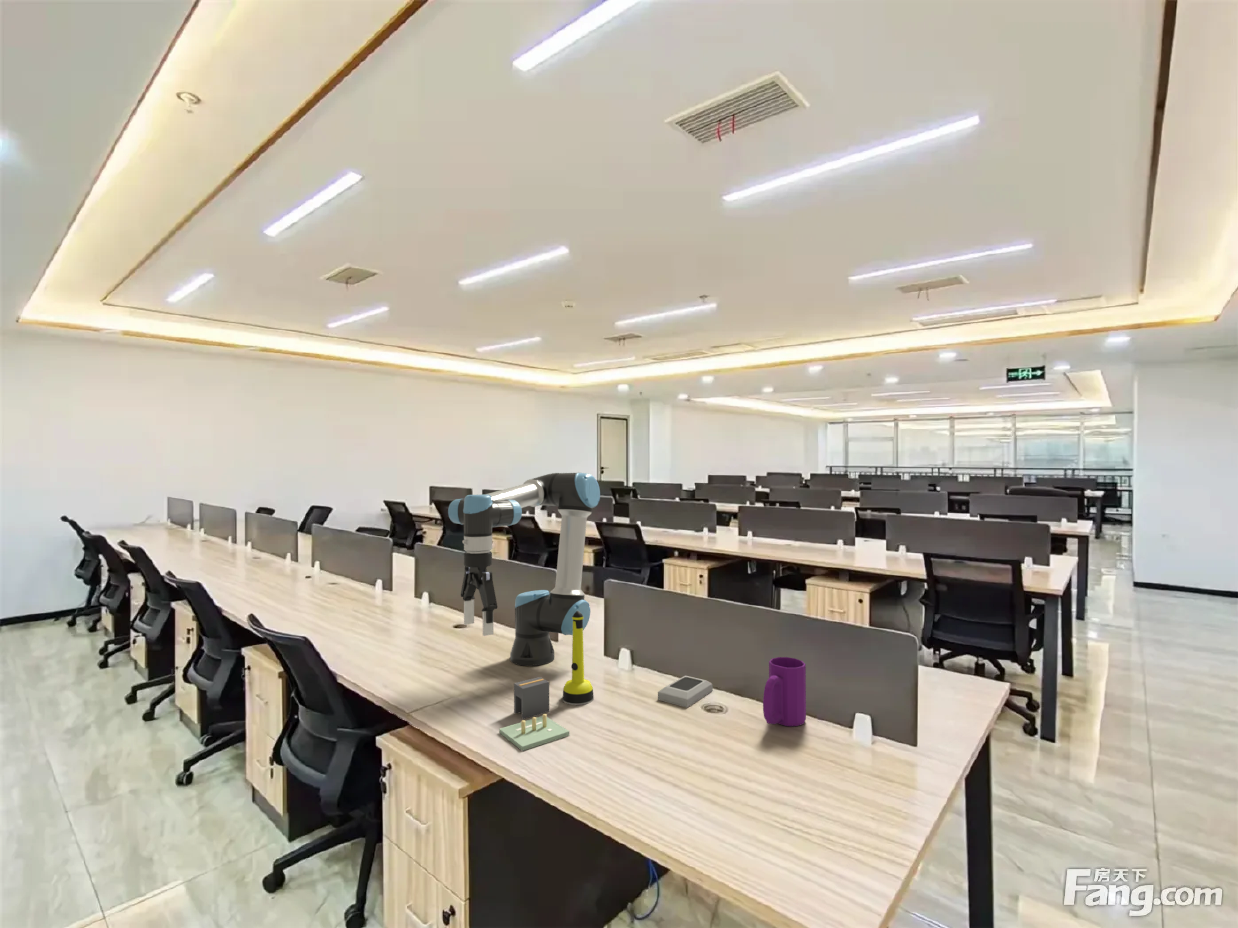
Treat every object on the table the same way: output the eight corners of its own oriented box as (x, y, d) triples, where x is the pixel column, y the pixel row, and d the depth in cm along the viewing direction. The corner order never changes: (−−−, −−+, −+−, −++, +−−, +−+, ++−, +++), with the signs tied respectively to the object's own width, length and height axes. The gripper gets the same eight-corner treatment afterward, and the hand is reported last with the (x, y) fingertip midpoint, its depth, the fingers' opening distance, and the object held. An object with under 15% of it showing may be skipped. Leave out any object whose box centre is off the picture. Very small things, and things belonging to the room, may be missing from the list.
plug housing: (540, 705, 164) (539, 676, 164) (549, 711, 160) (549, 681, 160) (514, 713, 160) (513, 682, 160) (522, 719, 156) (522, 688, 156)
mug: (812, 719, 154) (811, 662, 155) (782, 739, 143) (782, 677, 143) (780, 709, 161) (779, 654, 161) (749, 728, 150) (749, 668, 150)
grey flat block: (657, 688, 168) (684, 673, 180) (657, 701, 168) (684, 685, 180) (687, 695, 163) (712, 679, 175) (687, 709, 163) (712, 692, 175)
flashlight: (575, 606, 175) (555, 612, 168) (599, 610, 170) (580, 616, 163) (576, 690, 175) (555, 700, 168) (600, 697, 170) (580, 707, 163)
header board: (544, 719, 156) (544, 703, 156) (569, 735, 146) (569, 719, 146) (499, 732, 148) (499, 716, 148) (522, 751, 138) (522, 733, 138)
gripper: (449, 547, 170) (449, 621, 170) (482, 558, 149) (482, 642, 149) (474, 545, 174) (474, 617, 174) (510, 555, 154) (510, 637, 153)
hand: (478, 629), depth 162 cm, fingers open, 13 cm apart
